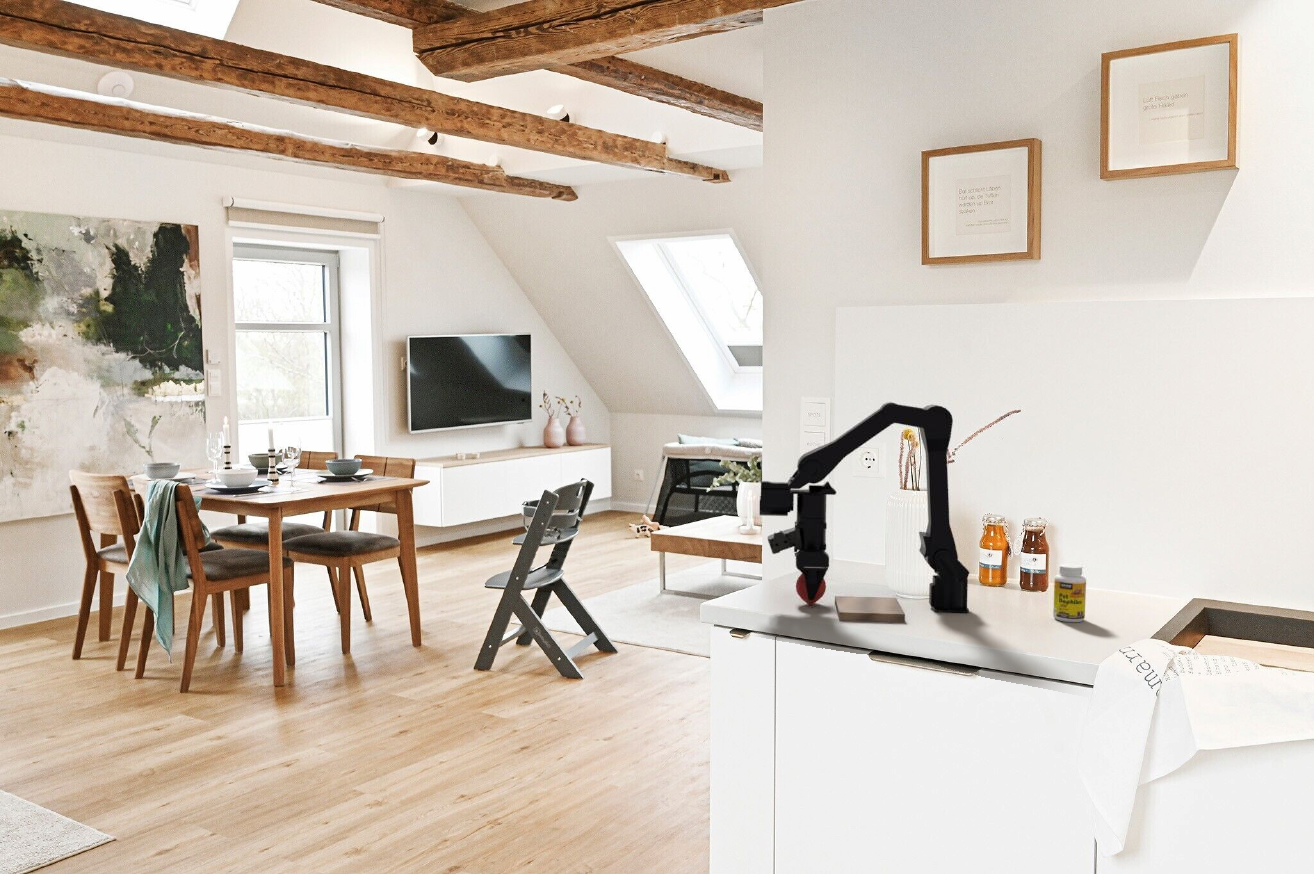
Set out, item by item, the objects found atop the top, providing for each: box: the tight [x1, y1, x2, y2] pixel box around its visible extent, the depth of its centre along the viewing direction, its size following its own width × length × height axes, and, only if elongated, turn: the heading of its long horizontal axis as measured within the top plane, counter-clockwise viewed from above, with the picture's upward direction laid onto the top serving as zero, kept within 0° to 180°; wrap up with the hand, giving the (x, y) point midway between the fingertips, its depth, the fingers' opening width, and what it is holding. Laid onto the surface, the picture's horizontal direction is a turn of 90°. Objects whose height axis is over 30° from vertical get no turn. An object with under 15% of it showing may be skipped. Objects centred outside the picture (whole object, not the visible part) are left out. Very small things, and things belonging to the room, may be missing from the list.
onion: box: [795, 572, 827, 606], centre depth 213 cm, size 6×6×8 cm
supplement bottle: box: [1052, 563, 1087, 623], centre depth 202 cm, size 6×6×10 cm
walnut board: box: [834, 595, 906, 623], centre depth 207 cm, size 12×14×2 cm
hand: (810, 594), depth 213 cm, fingers open, 9 cm apart
